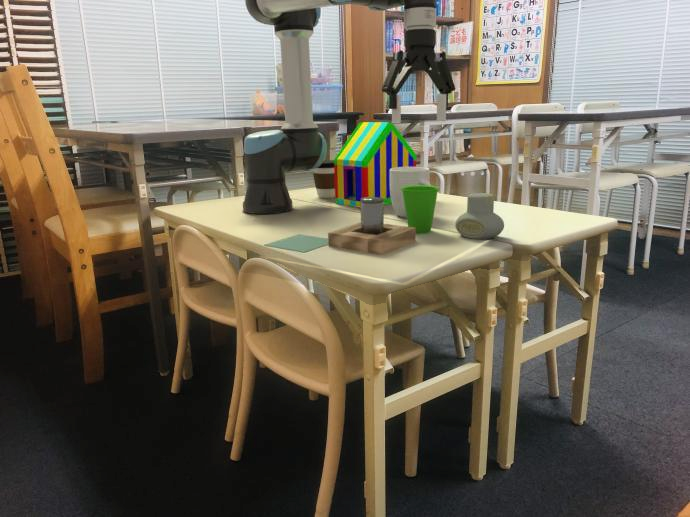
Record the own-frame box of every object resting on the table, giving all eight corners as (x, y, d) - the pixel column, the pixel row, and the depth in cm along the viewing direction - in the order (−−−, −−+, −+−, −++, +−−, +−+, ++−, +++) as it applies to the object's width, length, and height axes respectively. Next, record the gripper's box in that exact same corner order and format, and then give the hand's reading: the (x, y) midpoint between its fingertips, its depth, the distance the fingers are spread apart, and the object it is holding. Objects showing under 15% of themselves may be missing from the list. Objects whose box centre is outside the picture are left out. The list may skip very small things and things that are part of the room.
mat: (264, 247, 123) (263, 244, 123) (299, 236, 132) (299, 234, 132) (304, 254, 116) (304, 251, 116) (338, 242, 125) (338, 240, 125)
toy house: (365, 208, 167) (364, 123, 160) (335, 203, 176) (332, 123, 169) (416, 197, 183) (416, 120, 176) (385, 193, 192) (385, 120, 185)
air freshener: (449, 237, 128) (450, 195, 125) (467, 231, 134) (468, 190, 131) (492, 244, 121) (494, 199, 118) (509, 237, 127) (511, 194, 124)
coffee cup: (305, 197, 189) (303, 162, 186) (328, 193, 196) (327, 159, 193) (325, 200, 181) (324, 164, 178) (349, 196, 188) (348, 161, 185)
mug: (446, 218, 149) (448, 169, 146) (416, 223, 143) (416, 173, 140) (411, 210, 161) (411, 165, 158) (381, 215, 155) (381, 168, 152)
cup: (397, 229, 137) (397, 185, 134) (433, 228, 138) (434, 184, 135) (404, 238, 128) (404, 191, 125) (442, 236, 129) (443, 189, 126)
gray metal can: (356, 244, 122) (356, 199, 119) (369, 239, 126) (368, 196, 123) (375, 247, 119) (375, 201, 116) (388, 242, 123) (387, 198, 120)
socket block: (328, 248, 121) (328, 232, 120) (364, 235, 132) (364, 221, 131) (381, 257, 113) (381, 240, 112) (415, 242, 124) (415, 227, 123)
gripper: (384, 25, 120) (384, 124, 126) (471, 29, 132) (468, 120, 137) (366, 29, 127) (368, 124, 132) (451, 33, 138) (449, 120, 144)
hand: (419, 122), depth 135 cm, fingers open, 13 cm apart
